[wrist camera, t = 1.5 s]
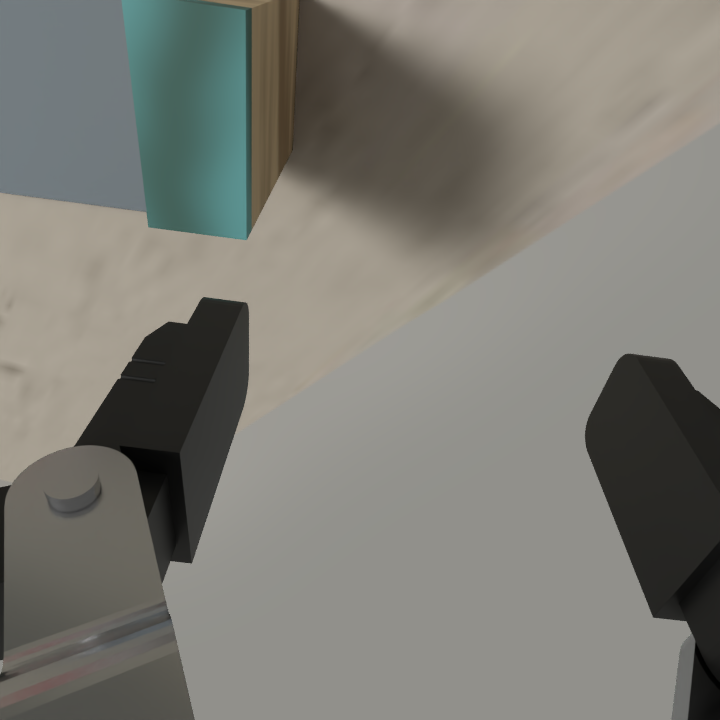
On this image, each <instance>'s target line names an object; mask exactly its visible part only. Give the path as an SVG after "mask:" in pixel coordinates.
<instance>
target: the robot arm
mask: <svg viewBox="0 0 720 720" xmlns="http://www.w3.org/2000/svg"><path fill="white" fill-rule="evenodd" d="M248 377H249V310H248V305H247V303H245V302H237V301H229V300H222V299H214V298H207V297H204V298H202V299H201V300H200V302H199V304H198V306H197V307H196V309H195V311H194V313H193V315H192V316H191V318H190V320H189V322H188V324H183V323H175V322H167V323H166V324H164V325H163V326H161V327H160V328H158V329H157V330H155V331H154V332H152V333H151V334H149V335H148V336H146V337H145V338H144V340H143V341H142V343H141V344H140V346H139V347H138V349H137V351H136V352H135V354H134V355H133V357H132V361H131V362H129V363H128V364H127V366H126V367H125V369H124V371H123V372H122V374H121V378H120V379H118V380H117V381H116V383H115V384H114V386H113V387H112V389H111V391H110V392H109V394H108V395H107V397H106V398H105V400H104V401H103V403H102V404H101V406H100V407H99V409H98V410H97V412H96V414H95V415H94V417H93V418H92V420H91V421H90V423H89V424H88V426H87V427H86V429H85V430H84V432H83V434H82V435H81V437H80V438H79V440H78V441H77V443H76V444H75V446H74V447H70V448H66V449H63V450H59V451H56V452H54V453H51V454H49V455H47V456H45V457H43V458H41V459H39V460H37V461H36V462H34V463H33V464H31V465H30V466H28V467H27V468H26V469H25V470H24V471H23V472H22V473H20V475H19V476H18V477H17V478H16V479H15V480H14V482H13V483H12V485H10V486H5V487H0V660H3V668H2V672H1V674H0V720H195V719H194V715H193V710H192V706H191V702H190V698H189V693H188V688H187V684H186V680H185V675H184V671H183V666H182V662H181V658H180V654H179V650H178V645H177V640H176V636H175V632H174V628H173V624H172V620H171V617H170V614H169V612H168V609H167V605H166V600H165V596H164V592H163V587H162V582H163V580H164V577H165V574H166V571H167V569H168V566H169V563H170V561H175V562H185V563H192V561H193V558H194V555H195V552H196V549H197V546H198V543H199V540H200V537H201V534H202V531H203V528H204V525H205V522H206V519H207V516H208V513H209V510H210V507H211V504H212V501H213V498H214V495H215V491H216V488H217V486H218V483H219V479H220V476H221V473H222V470H223V467H224V464H225V461H226V458H227V455H228V452H229V449H230V446H231V443H232V440H233V437H234V434H235V431H236V428H237V425H238V422H239V419H240V416H241V413H242V410H243V407H244V403H245V399H246V394H247V387H248ZM585 442H586V448H587V451H588V454H589V456H590V459H591V462H592V464H593V466H594V469H595V472H596V474H597V477H598V479H599V482H600V484H601V487H602V489H603V492H604V494H605V497H606V499H607V502H608V504H609V507H610V510H611V512H612V515H613V517H614V519H615V522H616V525H617V527H618V530H619V532H620V535H621V537H622V539H623V542H624V545H625V547H626V550H627V552H628V555H629V557H630V560H631V563H632V565H633V568H634V570H635V572H636V575H637V578H638V580H639V583H640V585H641V588H642V590H643V593H644V595H645V598H646V600H647V602H648V605H649V608H650V610H651V613H652V615H653V617H654V618H663V619H672V620H680V621H687V623H688V625H689V627H690V630H691V632H692V634H691V635H690V636H689V637H688V638H687V639H686V640H685V641H684V643H683V644H682V646H681V649H680V655H679V663H678V671H677V679H676V687H675V696H674V704H673V712H672V720H720V409H719V408H718V407H717V406H716V405H715V404H713V403H712V402H711V401H710V400H708V399H707V398H706V397H705V396H704V395H702V394H701V393H700V392H699V391H696V390H695V389H694V387H693V386H692V384H691V383H690V382H689V380H688V379H687V377H686V376H685V374H684V373H683V372H682V370H681V369H680V367H679V366H678V364H677V363H676V362H675V361H673V360H671V359H666V358H659V357H650V356H643V355H636V354H625V355H623V356H622V357H621V358H620V359H619V360H618V361H617V363H616V365H615V367H614V369H613V371H612V373H611V374H610V376H609V378H608V380H607V382H606V384H605V387H604V388H603V390H602V392H601V394H600V396H599V398H598V400H597V402H596V404H595V406H594V408H593V410H592V412H591V414H590V416H589V418H588V421H587V425H586V431H585Z"/></svg>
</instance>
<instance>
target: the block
mask: <svg viewBox="0 0 720 720" xmlns="http://www.w3.org/2000/svg"><path fill="white" fill-rule="evenodd" d="M121 1H122V9H123V17H124V26H125V34H126V43H127V51H128V59H129V68H130V76H131V85H132V93H133V101H134V110H135V118H136V127H137V135H138V143H139V152H140V160H141V169H142V177H143V186H144V194H145V202H146V211H147V219H148V227H151V228H158V229H166V230H174V231H181V232H189V233H196V234H204V235H211V236H219V237H227V238H234V239H242V240H247V238H248V236H249V234H250V232H251V230H252V228H253V227H254V225H255V223H256V221H257V219H258V217H259V215H260V213H261V211H262V209H263V207H264V205H265V203H266V201H267V199H268V197H269V195H270V193H271V191H272V189H273V187H274V185H275V183H276V182H277V180H278V178H279V176H280V174H281V172H282V170H283V168H284V166H285V164H286V162H287V160H288V158H289V156H290V154H291V152H292V150H293V132H294V110H295V88H296V66H297V44H298V22H299V0H121Z"/></svg>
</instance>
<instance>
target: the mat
mask: <svg viewBox="0 0 720 720" xmlns="http://www.w3.org/2000/svg"><path fill="white" fill-rule="evenodd" d="M0 192H1V193H9V194H16V195H24V196H31V197H39V198H46V199H54V200H61V201H69V202H76V203H84V204H91V205H99V206H107V207H114V208H122V209H129V210H137V211H144V212H147V211H146V202H145V194H144V186H143V177H142V169H141V160H140V152H139V143H138V135H137V127H136V118H135V110H134V101H133V93H132V85H131V76H130V68H129V59H128V51H127V43H126V34H125V26H124V17H123V9H122V1H121V0H0Z"/></svg>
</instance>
